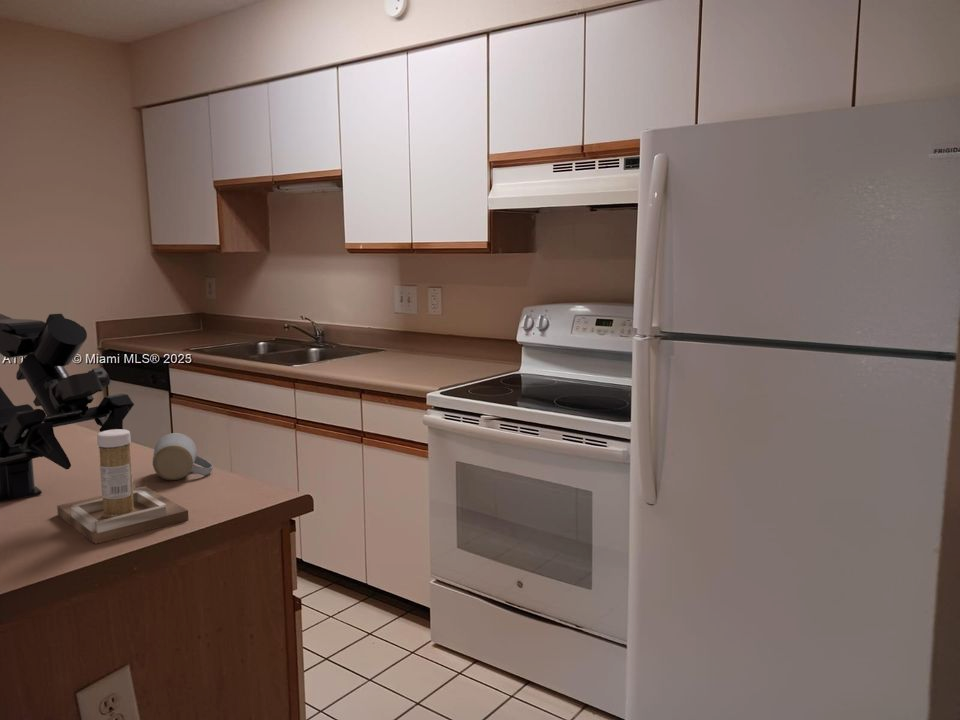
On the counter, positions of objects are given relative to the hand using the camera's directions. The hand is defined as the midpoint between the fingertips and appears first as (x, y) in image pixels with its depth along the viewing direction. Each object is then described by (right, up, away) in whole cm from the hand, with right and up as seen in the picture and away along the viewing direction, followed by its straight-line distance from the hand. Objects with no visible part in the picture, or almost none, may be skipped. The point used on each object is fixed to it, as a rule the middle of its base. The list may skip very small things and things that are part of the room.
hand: (97, 460), depth 113 cm
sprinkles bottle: (+4, -9, -1) cm, 10 cm away
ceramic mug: (+3, -7, +25) cm, 26 cm away
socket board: (+3, -10, +2) cm, 10 cm away
